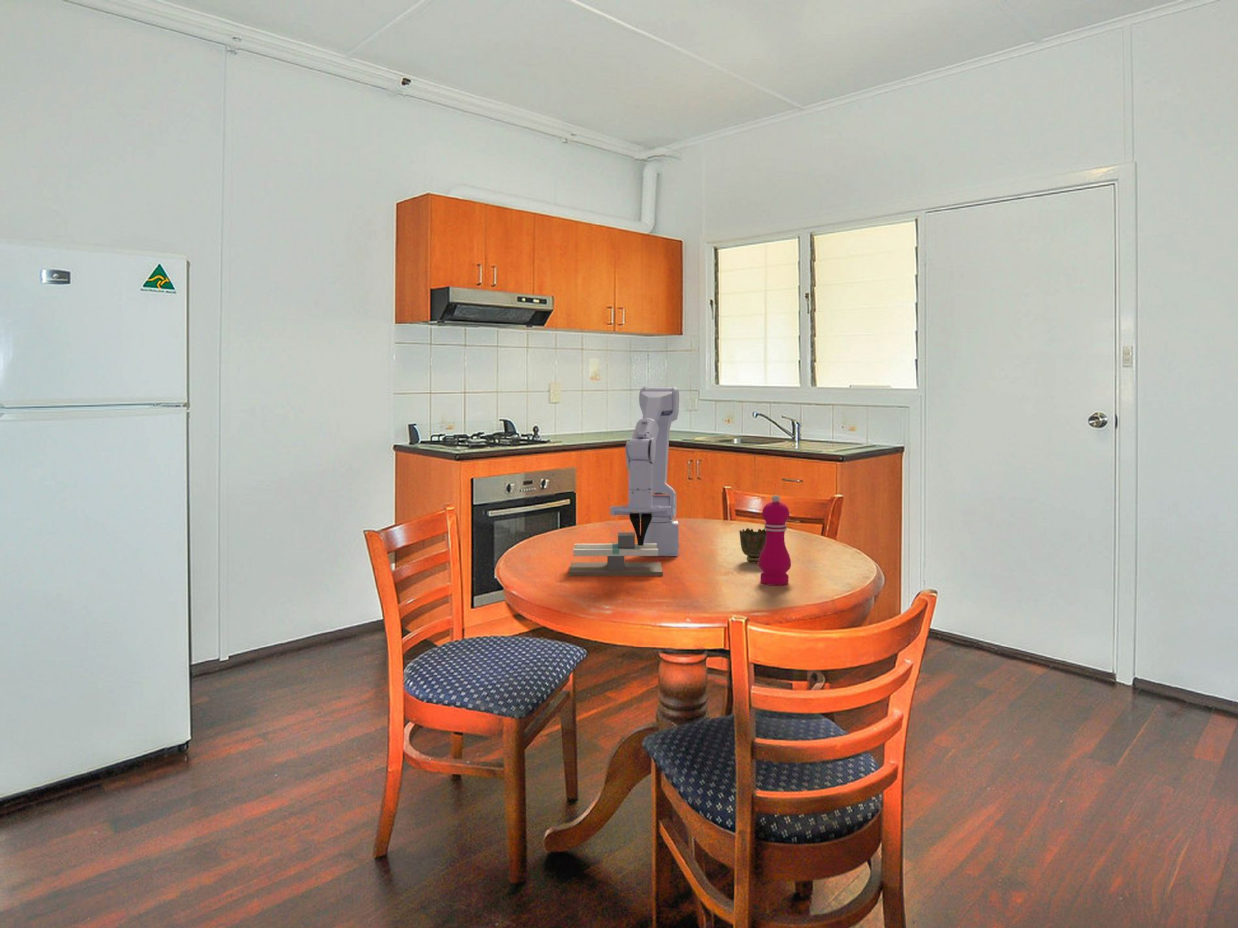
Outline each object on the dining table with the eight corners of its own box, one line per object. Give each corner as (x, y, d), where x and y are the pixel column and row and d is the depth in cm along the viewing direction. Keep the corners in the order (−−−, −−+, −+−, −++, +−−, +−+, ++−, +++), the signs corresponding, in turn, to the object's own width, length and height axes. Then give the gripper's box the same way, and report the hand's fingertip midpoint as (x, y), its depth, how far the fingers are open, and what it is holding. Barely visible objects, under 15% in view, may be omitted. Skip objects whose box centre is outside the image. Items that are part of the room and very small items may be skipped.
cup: (770, 559, 200) (771, 528, 199) (766, 566, 193) (767, 534, 192) (741, 557, 203) (742, 527, 202) (736, 563, 196) (737, 532, 195)
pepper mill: (754, 578, 181) (756, 493, 179) (785, 577, 182) (787, 492, 180) (763, 586, 174) (764, 497, 172) (794, 585, 175) (796, 497, 173)
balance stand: (660, 565, 194) (660, 541, 193) (662, 575, 184) (662, 550, 183) (571, 566, 193) (570, 542, 193) (569, 576, 184) (568, 550, 183)
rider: (634, 548, 190) (634, 532, 190) (634, 552, 186) (634, 535, 186) (617, 548, 190) (617, 532, 190) (618, 552, 186) (618, 535, 186)
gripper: (610, 491, 182) (610, 548, 184) (672, 490, 183) (671, 548, 184) (610, 487, 189) (610, 542, 191) (669, 486, 190) (669, 541, 191)
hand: (640, 544), depth 188 cm, fingers closed
